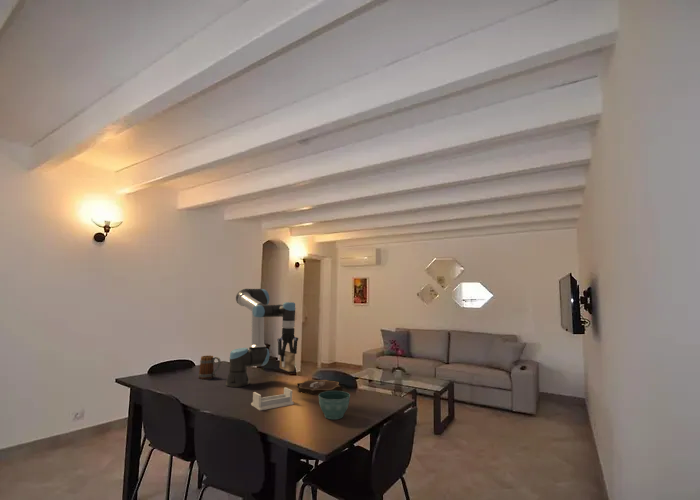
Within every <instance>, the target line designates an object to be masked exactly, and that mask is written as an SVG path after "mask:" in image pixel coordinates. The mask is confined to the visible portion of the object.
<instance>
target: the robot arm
mask: <svg viewBox="0 0 700 500" xmlns="http://www.w3.org/2000/svg"><path fill="white" fill-rule="evenodd" d="M235 301H236V303H237V304H238V305H239V306H241V307H245V308H247V309H248V310H250V311H251V344H250V345H249V347H248V348H247V347H238V348H234V349H233V350H231V351H230V352H229V353H230V354H229V367H228V369H229V370H228V375H227V378H226V381H225V386H226V387H231V388H238V387H239V388H241V387H246V386H248V385H249V384H250V378H249V375H248V368H253V367H263V366H265V365H267V364H268V362H269V359H270V351H269V350H270V349H268V348H267V345H266V344H265V318H279V317H280V318H282V321H281V322H282V325H281V326H282V328H281V337H279V338H276V339H277V354H278V355H279V356H280V355H281V361H282V367H285V356H284V354H285V351H287V350H286V349H287V345H288V346H289V352H291V353H294V354H295V355H296V354H298V351H297V349H298V342H299V337H296V336H295V327H296V325H295V323H296V322H295V320H296V309H297V308H296V303H295V302H293V301H292V302H291V301H290V302H289V301H287V302H286V301H285V302H283V304H270V295H269V292H268V290H266V289H263V288H244V289H241V290H239V291H238V292H237V293H236V295H235ZM278 355H277V356H278Z"/></svg>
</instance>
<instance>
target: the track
mask: <svg viewBox="0 0 700 500" xmlns="http://www.w3.org/2000/svg"><path fill="white" fill-rule="evenodd" d="M294 403H295V402H294V401H293V389H290V388H288V387H283V394H282V393H281V394H277V395H269V396H268V395H267V396H263V397H262V395H261V394H260V393H258V392H256V391H254V392H252V402H250V405H251V406H252V407H253V408H255V409H257V410H258V411H265V410H271V409H276V408H281V407H286V406H292V405H294Z"/></svg>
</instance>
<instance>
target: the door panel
mask: <svg viewBox="0 0 700 500" xmlns="http://www.w3.org/2000/svg"><path fill="white" fill-rule="evenodd" d="M284 356H285V367H282V361H281V355H279V369H281V370H283V371H286V372H289V373H290V372H294V371H295V369H296V367H295V366H296V365H295V362H296V354H294V353H291V352H290V351H287V350H285V354H284Z"/></svg>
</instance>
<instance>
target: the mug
mask: <svg viewBox="0 0 700 500" xmlns="http://www.w3.org/2000/svg"><path fill="white" fill-rule="evenodd" d="M215 360H217V362H218V363H217V367H216V368H215V370H214V364H216V362H215ZM220 366H221V359H220V357H218V356H216V357H214V356H213V355H202V356H201V357H200V361H199V372H198V375H197V376H198V379H200V380H208V379H213V378H216V377H217V376H218V374H216V372H217V371H219V368H220Z"/></svg>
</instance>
